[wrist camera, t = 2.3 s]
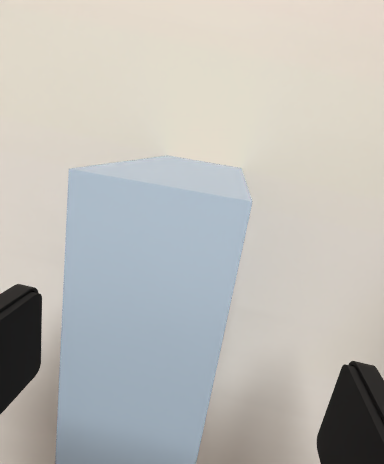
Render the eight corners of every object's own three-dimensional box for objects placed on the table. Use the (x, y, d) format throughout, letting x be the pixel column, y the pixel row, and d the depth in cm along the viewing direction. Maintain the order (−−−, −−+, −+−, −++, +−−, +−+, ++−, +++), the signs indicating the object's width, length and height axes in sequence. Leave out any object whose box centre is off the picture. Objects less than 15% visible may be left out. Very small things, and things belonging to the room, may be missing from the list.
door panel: (193, 405, 16) (156, 647, 8) (136, 392, 16) (48, 615, 8) (241, 167, 12) (252, 201, 5) (168, 155, 13) (69, 169, 5)
